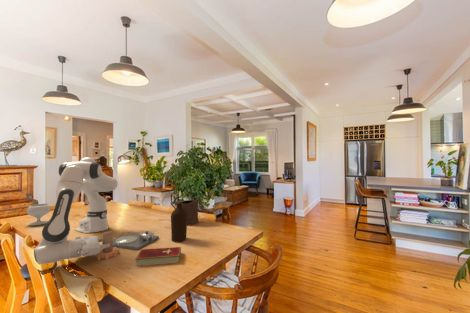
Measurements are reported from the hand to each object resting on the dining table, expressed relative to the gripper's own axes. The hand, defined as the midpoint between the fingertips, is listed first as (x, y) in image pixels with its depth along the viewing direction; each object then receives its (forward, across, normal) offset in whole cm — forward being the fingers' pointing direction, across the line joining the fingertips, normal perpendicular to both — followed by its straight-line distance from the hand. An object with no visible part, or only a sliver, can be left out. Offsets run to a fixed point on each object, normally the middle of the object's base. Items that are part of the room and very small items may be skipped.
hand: (108, 241), depth 118 cm
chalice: (-37, +100, +7) cm, 106 cm away
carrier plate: (+15, +12, +7) cm, 21 cm away
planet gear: (0, 0, +7) cm, 7 cm away
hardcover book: (+21, -22, +8) cm, 31 cm away
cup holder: (+60, +33, +7) cm, 69 cm away
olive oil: (+40, -2, +7) cm, 41 cm away
